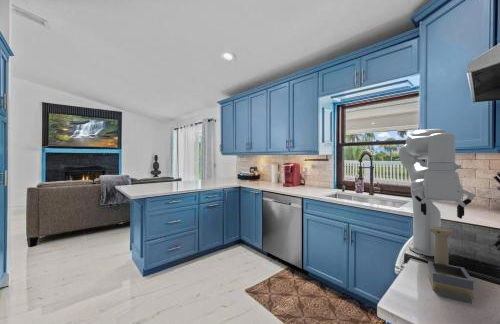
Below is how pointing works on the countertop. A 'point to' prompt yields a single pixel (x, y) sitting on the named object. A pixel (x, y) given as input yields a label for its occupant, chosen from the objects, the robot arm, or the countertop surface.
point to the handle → (441, 244)
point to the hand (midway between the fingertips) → (441, 216)
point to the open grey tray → (451, 281)
